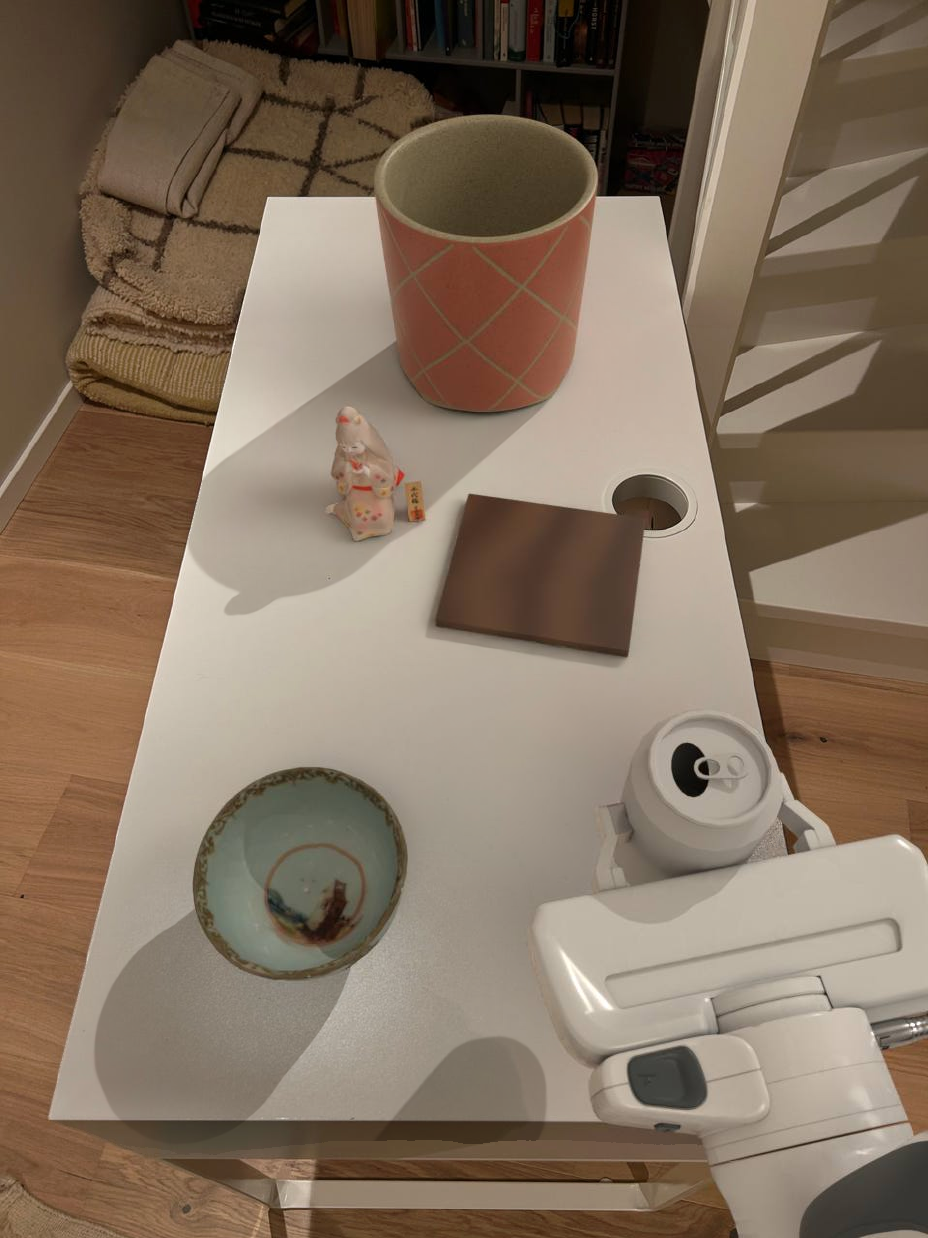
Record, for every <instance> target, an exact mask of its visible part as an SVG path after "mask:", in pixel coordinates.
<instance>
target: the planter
mask: <svg viewBox="0 0 928 1238" xmlns="http://www.w3.org/2000/svg"><path fill="white" fill-rule="evenodd" d="M598 185H599V173H598V167H597V165H596V162H595V159H594V158H593V156H592V154H591V153H590V152H589V150H588V149H587V148H586V147H585V146H584V145H583V144H582V143H581V142H580V141H578V139H576V138H575V137H573V136H572V135H570V134H568V133H567V132H565V131H564V130H561V129H559V128H557V127H555V126H552V125H549V124H547V123H544V122H542V121H538V120H535V119H531V118H526V117H520V116H514V115H505V114H473V115H462V116H456V117H451V118H446V119H442V120H438V121H435V122H432V123H429V124H426V125H424V126H422V127H419V128H417V129H415V130H413V131H411V132H409V133H407V134H405V135H404V136H402V137H400V138H399V139H398V140H396V141H395V142H394V143H393V144H391V146H389V147H388V149H387V150H386V151H384V153H383V154H382V156H381V157H380V159H379V161H378V162H377V164H376V167H375V169H374V175H373V191H374V199H375V206H376V212H377V219H378V227H379V232H380V233H379V234H380V241H381V247H382V248H381V249H382V255H383V262H384V268H385V269H384V270H385V275H386V280H387V287H388V293H389V300H390V306H391V313H392V319H393V326H394V333H395V339H396V340H395V341H396V346H397V353H398V358H399V362H400V364H401V367H402V370H403V372H404V374H405V376H406V377H407V378H408V380H409V381H410V382H411V384H412V385H413V386H414V388H415V389H416V390H417V392H418V394H419V395H420V396H421V398H422V399H423V400H424V401H425V402H427V403H428V404H431V405H434V406H436V407H440V408H443V409H449V410H455V411H463V412H474V413H495V412H496V413H497V412H504V411H510V410H511V411H512V410H516V409H521V408H526V407H530V406H532V405H536V404H539V403H542V402H545V401H546V400H548V399H550V398H551V397H553V396H554V395H555V393H556V392H557V390H558V389H559V387H560V385H561V384H562V382H563V381H564V379H565V377H566V375H567V374H568V372H569V370H570V368H571V366H572V364H573V363H572V362H573V359H574V356H575V351H576V350H575V349H576V343H577V336H578V328H579V323H580V315H581V308H582V300H583V293H584V287H585V280H586V274H587V267H588V260H589V254H590V245H591V237H592V230H593V222H594V215H595V214H594V213H595V206H596V199H597V193H598Z"/></svg>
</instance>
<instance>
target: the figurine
mask: <svg viewBox="0 0 928 1238" xmlns="http://www.w3.org/2000/svg"><path fill="white" fill-rule="evenodd" d="M335 423H336V429H335V439H336V443H337V447H336V449H335V452H334V457H333V461H332V465H331V470H330V476H331V478H332V479H333V480H334V481H335V482H336V488H337V489H336V490H337V491H338V492H339V493H340V494H342V495H345V499H341V500H339V501H337V502H336V503H330V504H329V505H327V506H325V507H326V508H325V513H326V515H330V514H333V515H335V516H336V517H337V518H338V519H339V520H341V522H343V524H345V525H346V526H347V528H348V529H349V530H350V533H351V536H352V539H353V540H354V541H356V542H359V541H361V540H364V539H367V538H370V537H378V536H385V535H388V534H390V532H391V531H392V528H393V525H394V521H395V499H394V494H393V493H394V492H395V490H396V487H398V486H399V485H400V484H401V482H402V481H403V479H404V477H405V473H404V471H402V470H401V469H399V467H397V466H396V465H394V458H393V456H392V454H391V452H390V450H389V448H388V446H387V444H386V443H385V441H384V439H383V438H382V436H381V434H380V433H379V432H378V430H376V428H375V427H374V426H373V425H372V424H371V423H370V421H369V420H368V419H366V417H364V416H363V415H362V414H360V413H359V412H358V411H357V410H356V409H355V408H354V407H352V406H344V407H341V409H340V410H339V411H338V412H337V416H336V417H335ZM404 492H405V499H406V500H405V501H406V507H407V516H408V519H407V521H408V522H419V521H425V520H426V510H425V503H424V502H425V501H424V495H423V494H424V493H423V486H422V481H421V480H417V481H416V480H415V481H409V482H404Z"/></svg>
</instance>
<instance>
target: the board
mask: <svg viewBox="0 0 928 1238" xmlns="http://www.w3.org/2000/svg"><path fill="white" fill-rule="evenodd" d="M645 526H646V518H645V517H638V516H633V515H632V516H631V515H625V514H618V513H610V512H604V511H596V510H589V509H583V508H575V507H568V506H563V505H562V506H561V505H554V504H547V503H541V502H540V503H539V502H532V501H526V500H518V499H513V498H505V497H498V496H489V495H483V494H476V493H468V494H467V499H466V502H465V506H464V509H463V513H462V518H461V521H460V524H459V528H458V532H457V536H456V539H455V542H454V543H455V544H454V547H453V551H452V555H451V559H450V561H449V562H450V563H449V567H448V570H447V574H446V578H445V581H444V585H443V589H442V593H441V596H440V600H439V604H438V608H437V610H436V611H437V612H436V614H435V615H436V616H435V620H434V621H435V622H434V623H435V627H438V628H445V629H451V630H457V631H462V632H468V633H469V632H470V633H476V634H482V635H488V636H494V637H501V638H507V639H512V640H519V641H526V642H532V643H539V644H543V645H544V644H545V645H551V646H558V647H564V648H569V649H574V650H581V651H587V652H594V653H601V654H606V655H611V656H612V655H613V656H619V657H623V658H624V657H625V658H628V657H629V653H630V648H631V640H632V639H631V638H632V631H633V623H634V615H635V606H636V600H637V599H636V598H637V592H638V583H639V574H640V568H641V559H642V551H643V543H644V535H645V528H646V527H645Z"/></svg>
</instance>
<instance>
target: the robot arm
mask: <svg viewBox="0 0 928 1238" xmlns="http://www.w3.org/2000/svg"><path fill="white" fill-rule="evenodd" d="M780 774H781V777H782V796H783V802H782V804H781V807H780V810H779V812H778V815H777V818H776V819H777V820H778V821H780V823H782V824H783V825H784V826H785V827H786V828H787V829H788V830H789V831H790V832H791V833H792V834H793V835H794V836H795V837H796V838H797V840H796V841H795V842H794V843H793V845H792V849H793V851H794V853H792V854H786V855H785V854H784V855H781V856H780V855H779V856H775V857H771V858H766V859H761V860H755V861H750V862H747V863H745V864H740V865H735V866H730V867H725V868H719V869H714V870H709V871H704V872H699V873H694V874H689V875H684V876H679V877H674V878H669V879H664V880H659V881H654V882H649V883H644V884H639V885H634V886H631V885H630V886H628V882H627V881H626V880H625V876H624V873H623V870H622V868H620V867H618V866H616V867H613V868H612V869H611V867H612V862H613V859H614V851H615V847H616V845H620V844H625V843H629V842H630V840H631V837H630V836H632V834H633V827H632V825H631V824H630V822H629V819H628V817H627V816H626V814H627V811H626V807H625V804H624V802H621V803H619V802H616V803H615V802H614V803H610V804H605V805H600V806H597V807H596V809H595V815H594V816H595V823H596V826H597V827H596V828H597V831H598V834H599V837H600V842H601V848H600V851H599V855H598V859H597V862H596V866H595V870H594V874H593V877H592V881H591V886H592V892H593V893H588V894H584V895H579V896H574V897H569V898H563V899H559V900H558V899H557V900H553V901H548V902H543V903H541V904H540V905H538V907H536V909H535V911H534V912H533V915H532V917H531V918H530V920H529V922H528V925H527V929H526V941H527V947H528V951H529V957H530V960H531V964H532V967H533V972H534V975H535V978H536V981H537V984H538V988H539V990H540V994H541V997H542V1000H543V1002H544V1005H545V1008H546V1010H547V1013H548V1016H549V1019H550V1022H551V1024H552V1026H553V1028H554V1030H555V1033H556V1036H557V1037H558V1040H559V1042H560V1044H561V1045H562V1046H563V1048H564V1050H565V1051H566V1052H567V1054H568V1055H569V1056H570V1057H571V1058H572V1059H573V1060H574V1061H576V1062H577V1063H578V1064H579V1065H581V1066H583V1067H585V1068H588V1069H591V1070H593V1071H592V1072H591V1074H590V1076H589V1078H588V1083H587V1084H588V1085H587V1090H588V1091H587V1092H588V1096H589V1097H588V1098H589V1102H590V1106H591V1108H592V1111H593V1113H594V1115H595V1116H596V1118H597V1120H599V1121H601V1122H603V1123H606V1124H610V1125H614V1126H615V1125H616V1126H623V1127H629V1128H637V1129H638V1128H640V1129H646V1130H647V1129H648V1130H655V1131H656V1132H661V1133H668V1134H673V1133H678V1134H685V1135H692V1136H693V1135H694V1136H697V1138H698V1139H699V1140H701V1143H702V1146H703V1150H704V1155H705V1157H706V1161H707V1165H708V1166H711V1167H709V1170H710V1174H711V1176H712V1180H714V1183H715V1185H716V1187H717V1189H718V1190H719V1192H720V1194H721V1195H722V1197H723V1199H724V1201H725V1204H726V1205H727V1207H728V1209H729V1211H730V1214H731V1217H732V1219H733V1222H734V1224H735V1228H736V1231H737V1236H738V1238H928V1129H925V1130H923V1131H921V1132H919V1133H917V1134H914V1131H913V1128H912V1125H911V1123H910V1122H909V1118H908V1116H907V1113H906V1111H905V1108H904V1106H903V1103H902V1101H901V1098H900V1095H899V1093H898V1091H897V1088H896V1086H895V1083H894V1081H893V1078H892V1076H891V1073H890V1071H889V1068H888V1065H887V1063H886V1060H885V1058H884V1055H883V1052H882V1051H886V1050H889V1049H894V1048H898V1047H899V1048H900V1047H902V1046H907V1045H910V1044H912V1043H916V1042H918V1041H921V1040H924V1039H927V1038H928V862H927V859H926V858H925V856H924V853H923V852H922V851H921V849H920V848H919V847H918V846H916V845H915V844H913V843H912V842H910V841H909V840H907V839H906V838H905V837H903V836H901V835H900V834H897V833H893V834H887V835H882V836H881V835H880V836H877V837H871V838H866V839H861V840H856V841H851V842H846V843H842V844H841V843H840V844H837V843H836V840H835V838H834V836H833V834H832V831H831V829H830V827H829V825H828V824H827V823H826V822H825V821H823V819H821V818H819V816H817V815H816V814H815V813H814V812H812V810H810V809H809V808H808V807H806V806H805V805H804V804H803V803H801V801H800V800H798V799H795V797H794V795H793V793H792V791H791V789H790V786H789V783H788V781H787V778H786V776H785V774H784V773H783V772H781V771H780Z"/></svg>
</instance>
